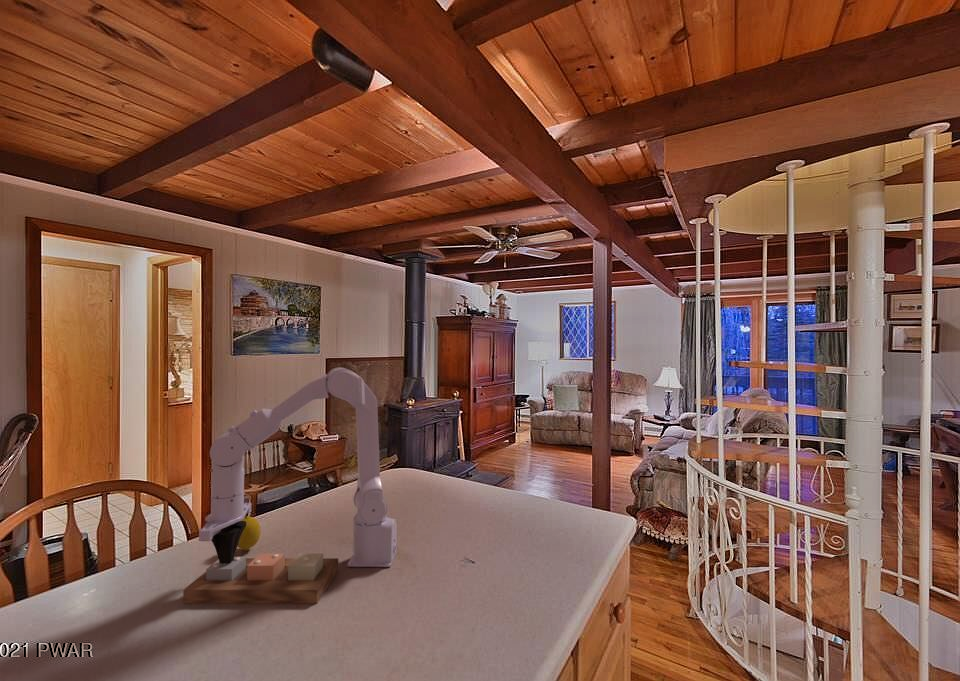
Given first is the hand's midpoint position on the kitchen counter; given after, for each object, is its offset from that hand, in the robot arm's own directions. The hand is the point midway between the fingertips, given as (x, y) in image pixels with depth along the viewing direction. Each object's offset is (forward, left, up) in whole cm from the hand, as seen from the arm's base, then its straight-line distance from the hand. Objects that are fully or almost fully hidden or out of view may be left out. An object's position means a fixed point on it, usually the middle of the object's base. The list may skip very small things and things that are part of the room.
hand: (226, 561), depth 86 cm
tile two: (-8, 0, -3) cm, 9 cm away
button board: (-8, 0, -5) cm, 9 cm away
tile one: (-16, 0, -3) cm, 16 cm away
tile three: (0, 0, -4) cm, 4 cm away
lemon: (+4, -15, -5) cm, 16 cm away
